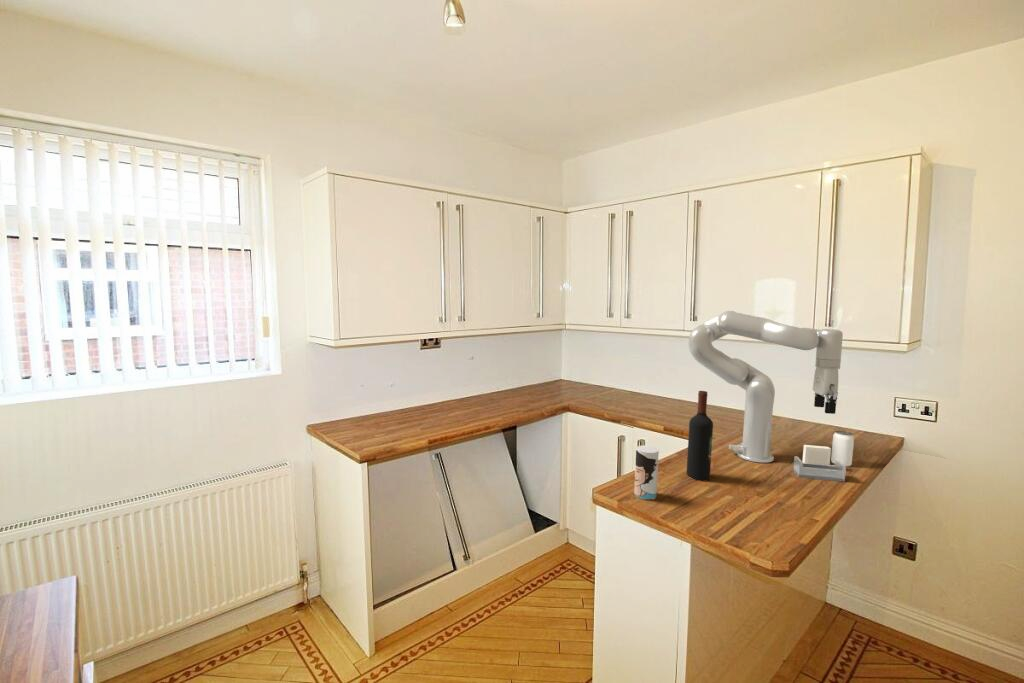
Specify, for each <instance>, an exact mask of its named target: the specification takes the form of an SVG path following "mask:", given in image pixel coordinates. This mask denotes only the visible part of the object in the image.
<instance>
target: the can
mask: <svg viewBox="0 0 1024 683" xmlns="http://www.w3.org/2000/svg"><path fill="white" fill-rule="evenodd" d="M854 444H855V437H854V434H853V433H852V432H850V431H845V430H835V431H834V433H833V435H832V445H831V454H830V463H832V464H833V465H835V461H836V460H839V461H840V462H841V463H843V464H844V465H845V466H846V468H847V467H851V466H852V464H853V453H854Z"/></svg>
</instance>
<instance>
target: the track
mask: <svg viewBox="0 0 1024 683" xmlns="http://www.w3.org/2000/svg"><path fill="white" fill-rule="evenodd" d="M846 470H847V467H846V466H845V465H844V464H843V463H841V462H840V461H839V460H836V461H835V464H833V465H832V464H831V465H824V464H813V463H803V462H802V459H801V458H800V457H799V456H797V455H796V456H793V470H792V472H794V474H795V473H796V474H795V475H796V476H797V477H798V478H801V477H803V479H812V480H823V481H832V482H841V481H843V482H842V483H845V480H846V473H847V472H846Z"/></svg>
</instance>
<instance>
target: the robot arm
mask: <svg viewBox="0 0 1024 683" xmlns="http://www.w3.org/2000/svg"><path fill="white" fill-rule="evenodd" d="M727 335H735V336H738V337H744V338H747V339H752V340H757V341H761V342H765V343H770V344H776V345H779V346H783V347H789V348H792V349H797V350H801V351H811V350H813V349H815V348H816V353H815V363H814V364H815V365H814V366H815V370H814V376H813V382H812V383H813V384H812V391H813V392H814V403H813V406H814V407H815V408H824V413H825V414H832V415H833V414H834V415H835V414H836V412H837V411H836V410H837V409H836V408H837V402H838V396H839V392H838V390H839V370H840V369H841V361H842V349H843V337H844V336H843V331H841V330H839V329H830V328H829V329H827V328H826V329H825V328H824V329H823V328H822V329H819V328H818V329H817V328H816V329H815V328H811V327H797V326H793V325H788V324H784V323H779V322H778V321H775V320H772V319H769V318H766V317H760V316H755V315H750V314H745V313H742V312H741V313H740V312H736V311H734V310H726V311H724V312H721V313H720V314H719V315H717V316H714V317H713V318H711V319H710V320H707V321H704V322H703V323H702V324H700V325H698V326H695V327H694V328H693V329H692V331H691V332H690V334H689V336H688V337H689V338H688V349H689V352H690V354H691V356H692V357H693V358H694V360H695V361H696V362H697V363H699V364H700V365H701V366H703V367H704V368H706V369H707V370H708V371H710V372H712V373H713V374H714V375H716V376H717V377H719V378H720V379H723V381H724V382H727V383H728V384H729V385H733V386H734V385H735V386H738V387H739V388H741V389H743V390H744V391H745V401H744V402H745V404H744V413H743V414H744V415H743V428H742V429H743V433H742V442H740V444H739V443H738V444H736V445H735V444H728V449H729V450H732V451H733V452H736V453H737V456H738V457H739V458H741V459H743V460H746V461H750V462H754V463H759V464H760V463H761V464H764V463H771V462H773V461H774V459H775V457H774V455H773V454H771V452H770V451H771V439H772V425H773V414H774V413H773V412H774V410H773V409H774V402H775V393H776V392H775V386H774V383H773V380H772V379H771V378H770V377H769V376H768V375H767V374H765V373H763V372H762V371H760V370H758V369H757V368H755V367H754V366H753V365H751V364H749V363H747V362H746V361H744V360H742V359H740V358H736V357H735V358H733V357H730V356H729V355H728V354H725V353H724V352H722V351H721V350H719V349H717V348H716V347H715V346H714V345H713V344H712V343H713V342H715V341H717V340H719V339H721V338H723V337H725V336H727Z"/></svg>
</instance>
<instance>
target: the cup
mask: <svg viewBox="0 0 1024 683" xmlns="http://www.w3.org/2000/svg"><path fill="white" fill-rule="evenodd" d="M658 469H659V449H658V447H654V446H651V445H638V446H636V448H635V466H634V471H635V472H634V486H633V488H634V490H633V491H634V492H633V495H634V494H635V495H636V496H637V497H640V498H644V499H652V498H655V497H656V498H657V492H658V490H657V488H658V471H659V470H658ZM635 495H634V496H635ZM636 496H635V497H636ZM637 497H636V498H637ZM656 498H655V499H656Z"/></svg>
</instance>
